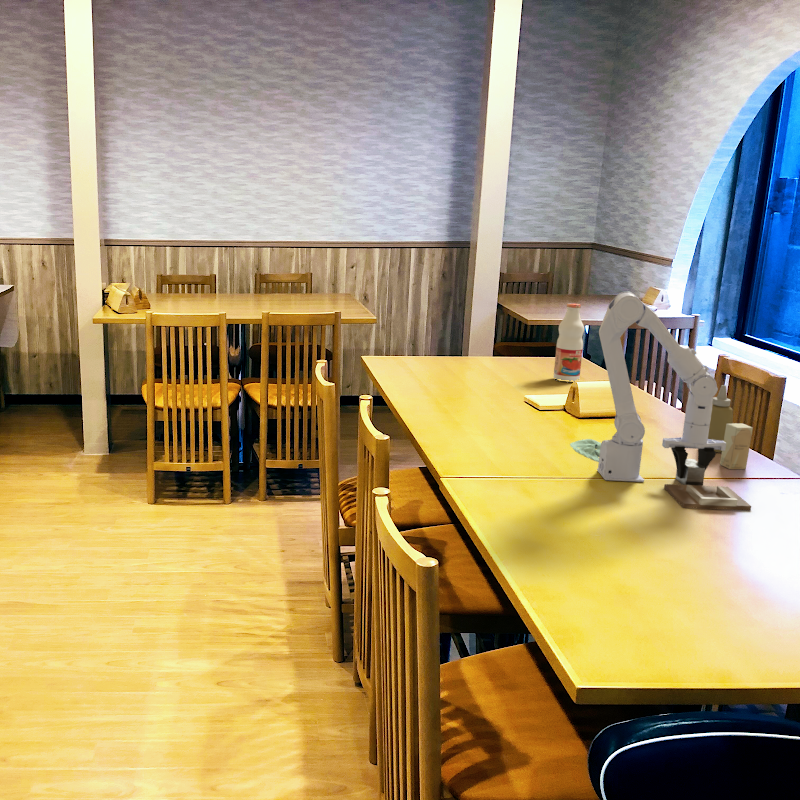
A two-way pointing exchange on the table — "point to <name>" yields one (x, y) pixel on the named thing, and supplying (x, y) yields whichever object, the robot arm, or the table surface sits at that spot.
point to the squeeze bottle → (720, 416)
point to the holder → (706, 497)
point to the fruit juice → (569, 345)
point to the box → (736, 446)
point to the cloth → (587, 448)
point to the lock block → (692, 473)
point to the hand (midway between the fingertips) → (689, 477)
